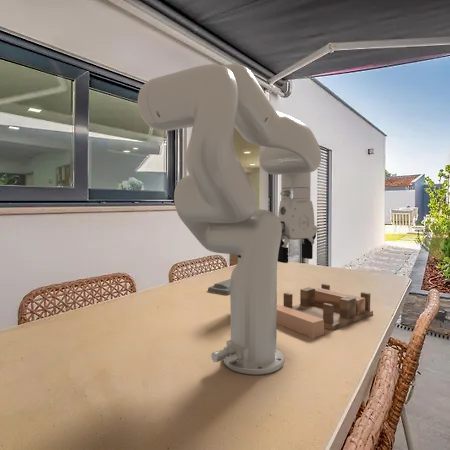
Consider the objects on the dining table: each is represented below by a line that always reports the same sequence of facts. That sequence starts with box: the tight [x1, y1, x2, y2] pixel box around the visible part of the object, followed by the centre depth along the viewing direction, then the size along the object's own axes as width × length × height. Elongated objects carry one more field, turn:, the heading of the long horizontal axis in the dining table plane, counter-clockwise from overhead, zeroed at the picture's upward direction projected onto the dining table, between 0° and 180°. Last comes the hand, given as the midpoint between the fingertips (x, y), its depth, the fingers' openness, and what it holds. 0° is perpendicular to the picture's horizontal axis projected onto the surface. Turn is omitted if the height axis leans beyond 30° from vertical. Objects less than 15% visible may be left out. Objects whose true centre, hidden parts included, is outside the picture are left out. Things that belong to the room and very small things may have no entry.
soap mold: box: [207, 278, 231, 296], centre depth 135 cm, size 10×20×4 cm, turn 145°
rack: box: [283, 283, 374, 331], centre depth 102 cm, size 20×18×6 cm
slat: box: [277, 304, 325, 339], centre depth 92 cm, size 16×4×4 cm, turn 34°
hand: (295, 260), depth 91 cm, fingers open, 9 cm apart
